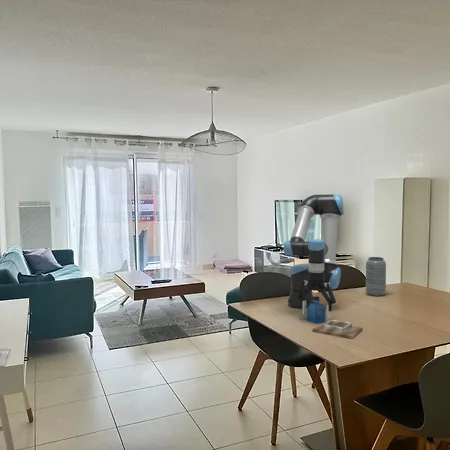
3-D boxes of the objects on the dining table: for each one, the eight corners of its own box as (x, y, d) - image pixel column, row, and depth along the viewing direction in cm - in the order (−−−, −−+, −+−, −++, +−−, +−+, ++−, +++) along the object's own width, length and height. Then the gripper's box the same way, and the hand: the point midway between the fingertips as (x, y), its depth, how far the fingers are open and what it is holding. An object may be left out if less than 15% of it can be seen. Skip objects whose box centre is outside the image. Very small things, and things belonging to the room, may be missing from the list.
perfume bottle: (315, 323, 198) (315, 299, 197) (307, 320, 204) (307, 296, 203) (325, 322, 201) (325, 297, 200) (317, 318, 206) (317, 295, 206)
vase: (388, 296, 251) (389, 259, 250) (369, 296, 251) (369, 259, 250) (381, 292, 263) (382, 256, 261) (363, 292, 263) (363, 256, 262)
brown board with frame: (312, 331, 186) (312, 324, 186) (324, 323, 198) (324, 317, 198) (352, 339, 176) (352, 331, 176) (362, 330, 187) (362, 323, 187)
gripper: (290, 270, 205) (290, 313, 206) (337, 274, 191) (337, 321, 192) (297, 268, 211) (297, 310, 212) (343, 272, 197) (343, 317, 198)
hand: (316, 315), depth 202 cm, fingers open, 12 cm apart
